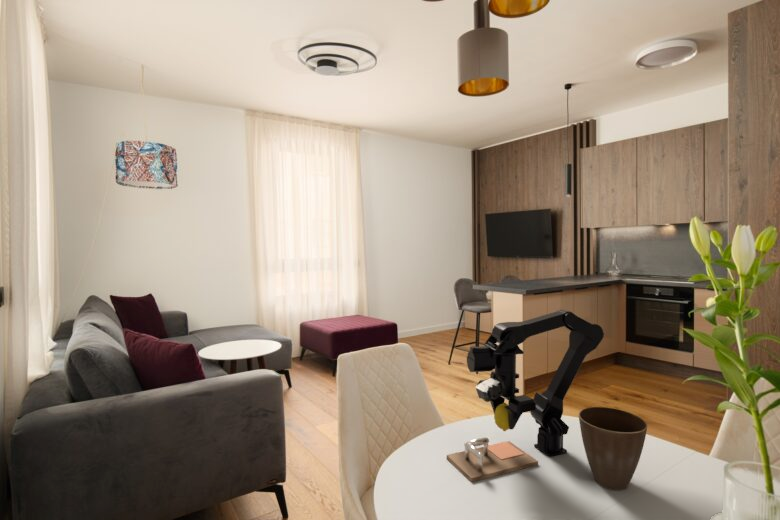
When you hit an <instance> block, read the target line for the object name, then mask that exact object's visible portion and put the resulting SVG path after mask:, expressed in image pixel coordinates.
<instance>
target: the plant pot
mask: <svg viewBox="0 0 780 520" xmlns="http://www.w3.org/2000/svg"><path fill="white" fill-rule="evenodd" d="M578 421H579V427H580V433H581V434H580V435H581V439H582V443H583V447H584V452H585V455H586V460H587V462H588V465H589V468H590V471H591V473H592V476H593V479H594V481H595V482H596V483H597V484H598V485H600V486H601V487H604V488H606V489H609V490H612V491H622V490H626V489H627V488H628V487H629V484H630V482H631V480H632V479H633V476H634V474H635V471H636V470H637V467H638V465H639V463H640V459H641V455H642V452H643V449H644V444H645V440H646V436H647V431H648V423H647V422H646V421H645V420H644V419H643V418H642V417H640V416H638V415H636V414H634V413H631V412H628V411H626V410H621V409H617V408H613V407H607V406H606V407H604V406H591V407H586V408H582V409H581V410H580V411H579V412H578Z"/></svg>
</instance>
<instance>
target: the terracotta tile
mask: <svg viewBox="0 0 780 520" xmlns="http://www.w3.org/2000/svg"><path fill="white" fill-rule="evenodd" d="M488 450H489V451H490V452H491V453H493V454H494V455H495V456H497V457H498V458H499V459H500V460H503V459H507V458H512V457H516V456H520V455H524V454H523V453H522V452H521V451H519V450H518V449H516V448H515V447H513V446H512V445H511V444H509V443H508V442H507V441H503V442H497V443H493V444H490V445H489V444H488Z"/></svg>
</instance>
